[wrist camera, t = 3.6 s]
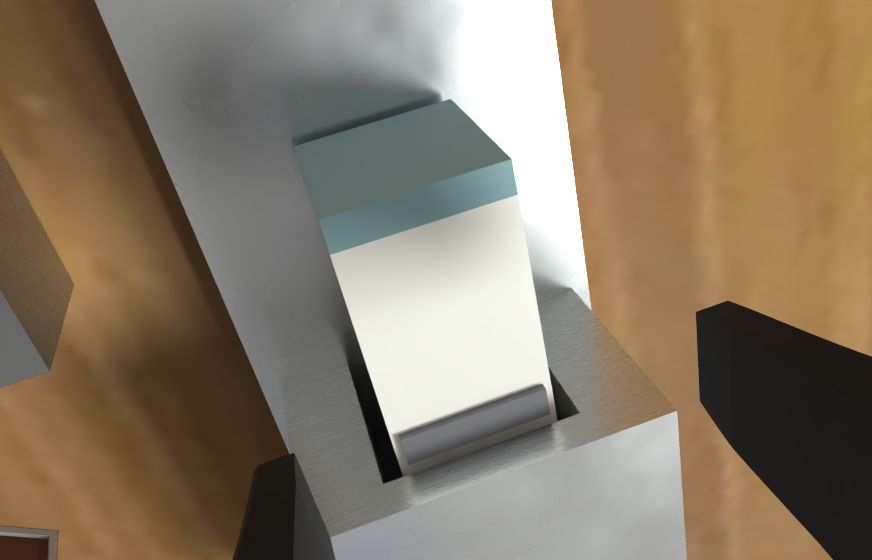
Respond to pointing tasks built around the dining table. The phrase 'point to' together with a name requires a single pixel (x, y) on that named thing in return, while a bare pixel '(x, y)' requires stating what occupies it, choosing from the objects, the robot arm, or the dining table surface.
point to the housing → (321, 293)
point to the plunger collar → (27, 287)
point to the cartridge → (434, 279)
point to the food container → (28, 544)
